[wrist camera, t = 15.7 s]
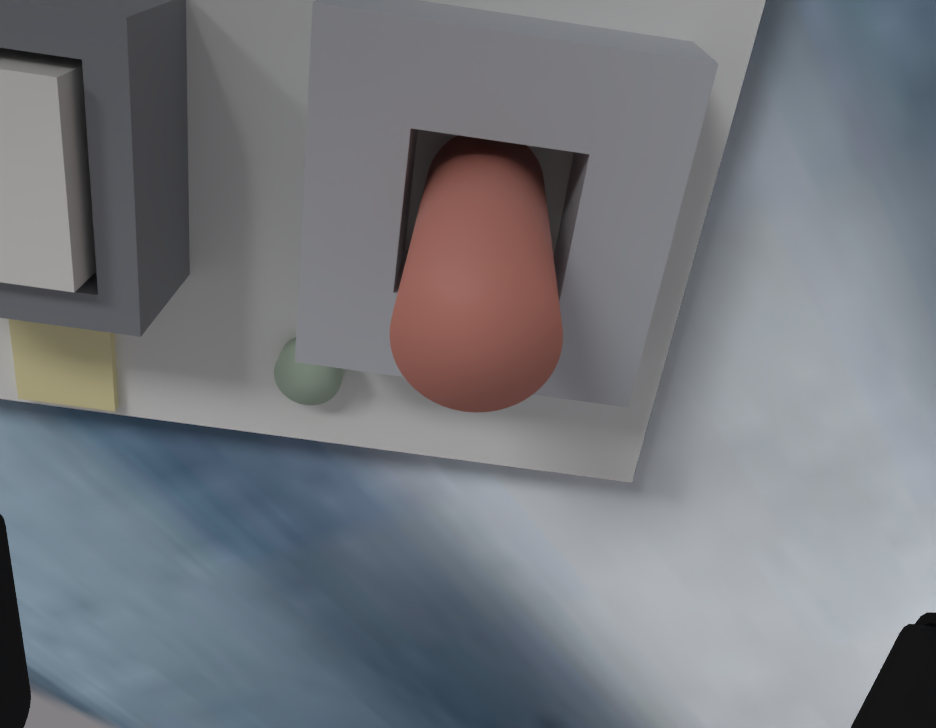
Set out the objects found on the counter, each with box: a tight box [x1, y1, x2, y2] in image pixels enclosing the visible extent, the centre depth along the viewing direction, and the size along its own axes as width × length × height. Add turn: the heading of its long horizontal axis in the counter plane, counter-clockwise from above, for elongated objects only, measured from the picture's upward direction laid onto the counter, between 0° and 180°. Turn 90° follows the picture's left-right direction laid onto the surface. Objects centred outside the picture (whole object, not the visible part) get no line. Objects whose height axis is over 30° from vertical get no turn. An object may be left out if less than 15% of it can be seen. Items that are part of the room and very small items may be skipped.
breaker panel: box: [0, 0, 766, 483], centre depth 23 cm, size 18×24×6 cm
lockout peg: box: [390, 135, 563, 412], centre depth 20 cm, size 3×3×9 cm
